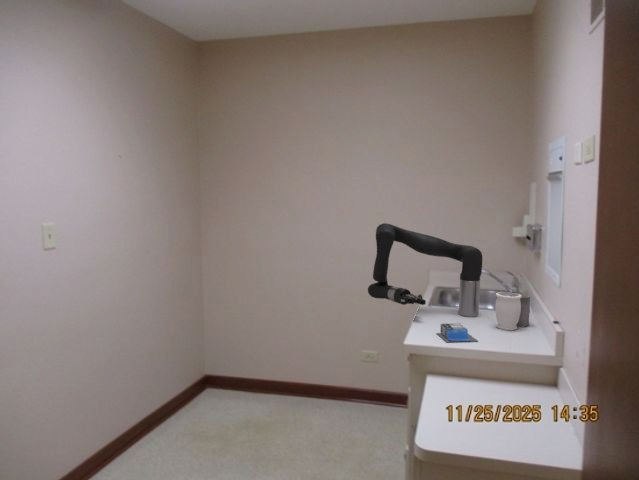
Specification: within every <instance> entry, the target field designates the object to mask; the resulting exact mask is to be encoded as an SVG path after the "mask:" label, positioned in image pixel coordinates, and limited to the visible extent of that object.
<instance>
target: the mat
mask: <svg viewBox="0 0 639 480" xmlns="http://www.w3.org/2000/svg"><path fill="white" fill-rule="evenodd" d="M436 335H437V336H438V337H440V339H442V340H443V341H444V342H445V343H446V344H452V343H453V344H454V343H456V344H457V343H478V342H479V340H477V338H475V337H474V336H472V335H470V334H469V333H468V337H469V340H471V341H451V340H448V339H447V338H446V337H445V336H444V335H443V334H442V333H441V332H436Z"/></svg>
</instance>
